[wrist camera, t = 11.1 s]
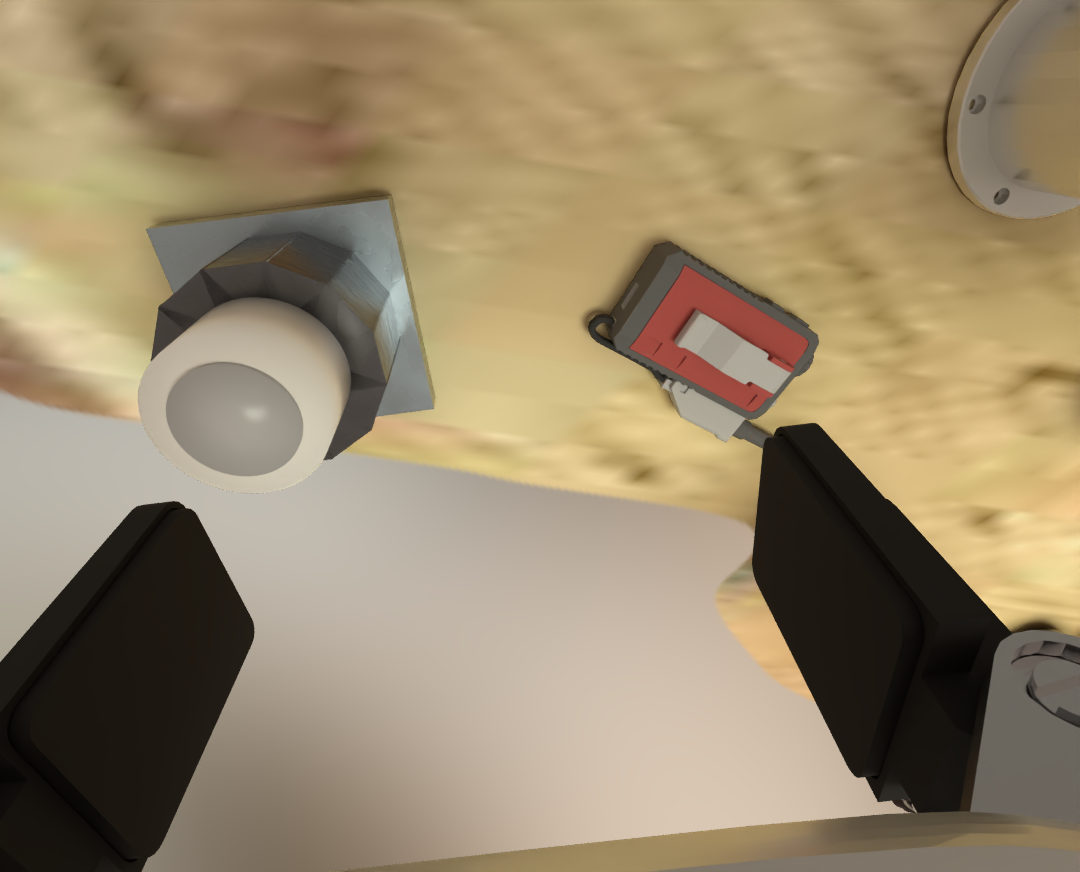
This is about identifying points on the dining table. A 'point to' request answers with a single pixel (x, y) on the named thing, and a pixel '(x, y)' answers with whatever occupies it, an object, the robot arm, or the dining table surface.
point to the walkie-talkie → (708, 342)
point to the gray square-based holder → (310, 291)
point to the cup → (247, 396)
